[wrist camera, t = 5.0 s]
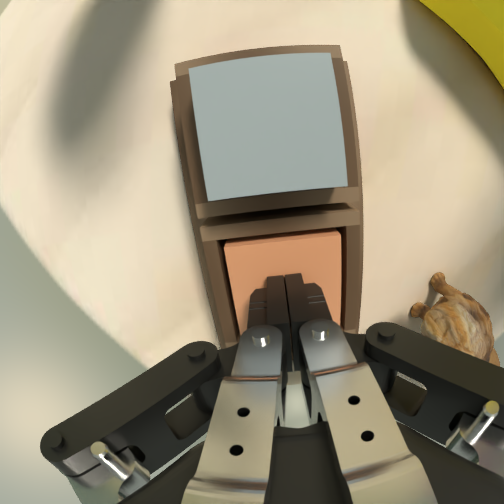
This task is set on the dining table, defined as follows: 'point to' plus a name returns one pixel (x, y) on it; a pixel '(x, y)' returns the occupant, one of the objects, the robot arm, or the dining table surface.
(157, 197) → the dining table surface
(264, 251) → the terracotta button
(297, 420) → the ivory button
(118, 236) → the dining table surface
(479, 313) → the lion figurine
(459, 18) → the ripe banana
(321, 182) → the slate button
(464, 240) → the dining table surface
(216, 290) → the button board
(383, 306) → the dining table surface
